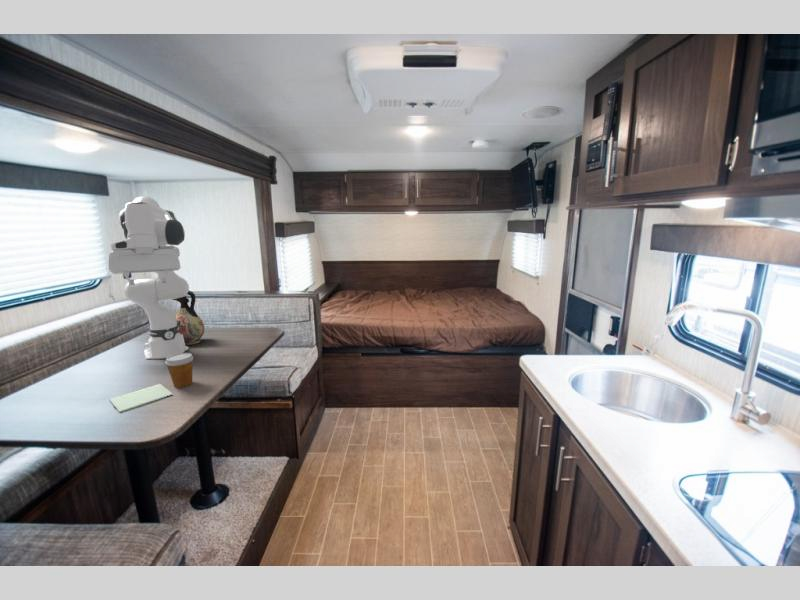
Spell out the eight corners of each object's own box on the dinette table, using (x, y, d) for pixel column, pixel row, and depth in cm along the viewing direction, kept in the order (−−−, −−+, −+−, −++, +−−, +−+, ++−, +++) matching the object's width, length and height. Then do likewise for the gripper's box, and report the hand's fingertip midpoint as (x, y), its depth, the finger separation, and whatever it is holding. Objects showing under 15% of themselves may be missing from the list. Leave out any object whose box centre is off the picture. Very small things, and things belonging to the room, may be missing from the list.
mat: (109, 400, 123) (109, 399, 123) (160, 385, 136) (159, 383, 136) (119, 412, 115) (119, 411, 115) (172, 395, 127) (172, 393, 127)
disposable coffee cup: (172, 381, 139) (168, 354, 136) (199, 377, 142) (195, 351, 140) (166, 391, 130) (161, 362, 128) (194, 387, 133) (190, 359, 131)
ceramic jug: (166, 347, 180) (159, 292, 175) (186, 338, 195) (179, 288, 190) (197, 347, 179) (190, 292, 174) (214, 338, 194) (208, 288, 189)
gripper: (179, 247, 127) (183, 283, 126) (109, 249, 116) (113, 288, 115) (178, 242, 122) (183, 279, 121) (104, 244, 111) (109, 284, 110)
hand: (148, 284), depth 118 cm, fingers open, 8 cm apart
